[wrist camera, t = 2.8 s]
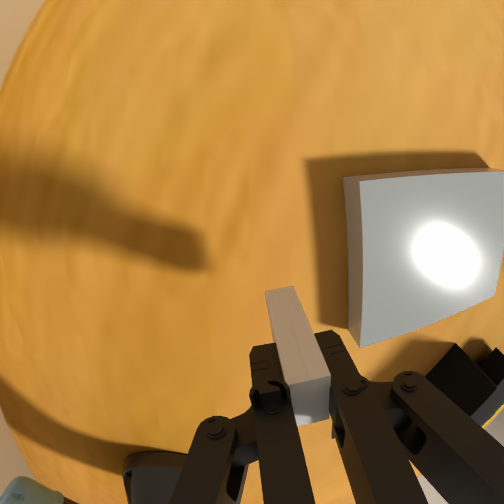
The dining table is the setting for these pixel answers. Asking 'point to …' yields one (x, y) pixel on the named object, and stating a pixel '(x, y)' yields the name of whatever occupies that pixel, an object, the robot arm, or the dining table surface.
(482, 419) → the toy
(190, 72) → the dining table surface
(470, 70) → the dining table surface
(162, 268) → the dining table surface
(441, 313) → the tile
